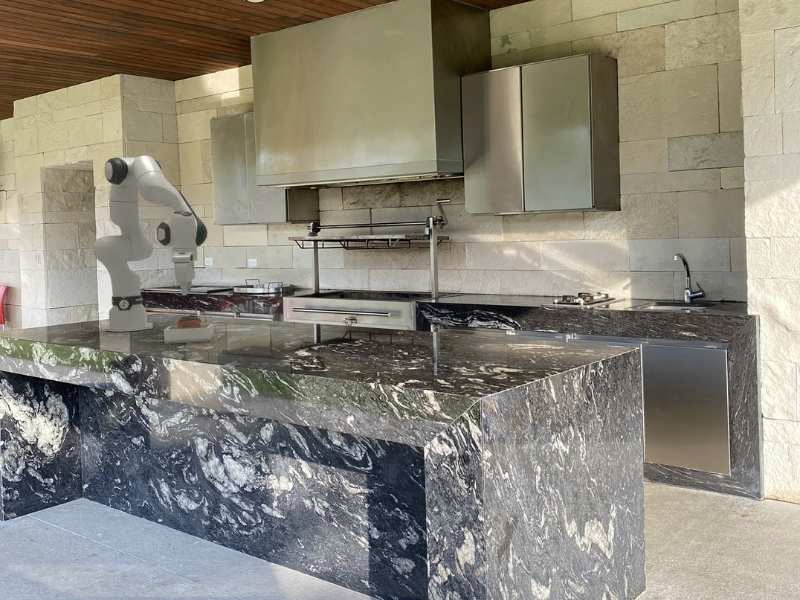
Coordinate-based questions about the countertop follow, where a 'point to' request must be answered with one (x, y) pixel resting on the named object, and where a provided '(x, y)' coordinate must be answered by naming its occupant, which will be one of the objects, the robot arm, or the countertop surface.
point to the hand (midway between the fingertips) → (186, 293)
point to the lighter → (189, 322)
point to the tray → (189, 334)
